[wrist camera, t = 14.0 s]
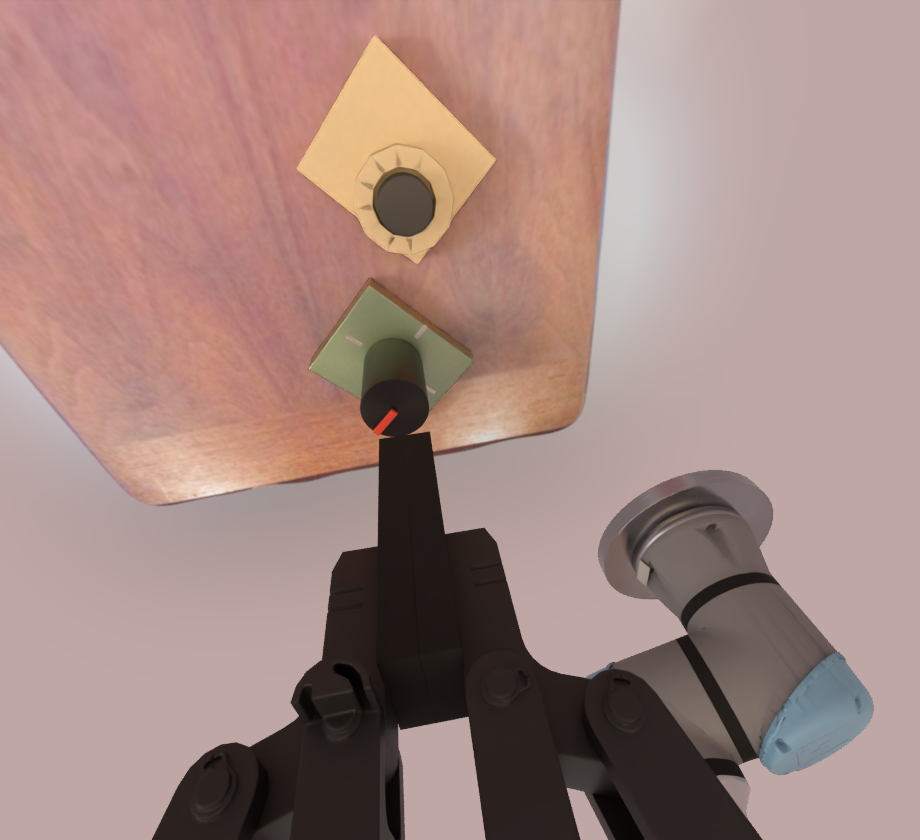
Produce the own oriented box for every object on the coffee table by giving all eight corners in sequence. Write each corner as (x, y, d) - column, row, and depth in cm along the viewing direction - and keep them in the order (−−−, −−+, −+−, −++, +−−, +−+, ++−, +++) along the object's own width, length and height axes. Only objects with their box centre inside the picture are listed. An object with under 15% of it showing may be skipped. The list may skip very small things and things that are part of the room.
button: (441, 198, 30) (444, 202, 29) (409, 242, 31) (411, 248, 30) (398, 158, 28) (399, 161, 27) (366, 206, 30) (365, 211, 28)
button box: (490, 157, 32) (502, 162, 29) (413, 260, 36) (416, 275, 32) (375, 39, 28) (373, 28, 25) (299, 169, 31) (289, 175, 28)
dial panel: (471, 350, 41) (475, 361, 39) (411, 419, 44) (412, 431, 42) (370, 276, 36) (369, 284, 34) (310, 359, 39) (307, 371, 37)
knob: (386, 327, 36) (386, 368, 30) (434, 359, 39) (443, 404, 33) (352, 371, 38) (346, 418, 32) (399, 400, 40) (402, 449, 34)
